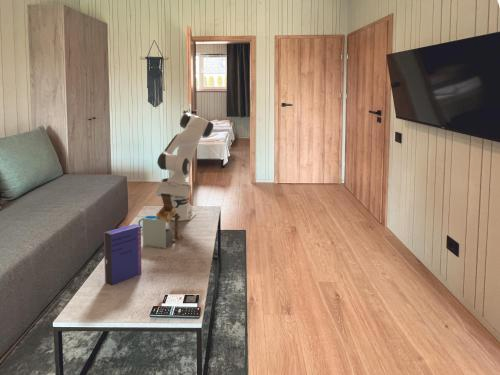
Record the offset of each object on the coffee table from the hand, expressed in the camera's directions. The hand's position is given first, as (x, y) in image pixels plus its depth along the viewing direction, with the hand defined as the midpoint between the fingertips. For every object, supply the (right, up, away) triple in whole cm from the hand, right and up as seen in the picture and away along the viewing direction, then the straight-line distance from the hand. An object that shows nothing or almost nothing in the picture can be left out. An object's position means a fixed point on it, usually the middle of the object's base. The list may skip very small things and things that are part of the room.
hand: (168, 203), depth 286 cm
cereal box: (-11, -33, -56) cm, 66 cm away
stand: (-1, -21, +3) cm, 21 cm away
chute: (-1, -9, 0) cm, 9 cm away
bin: (-4, -23, -7) cm, 25 cm away
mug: (-16, -18, +20) cm, 31 cm away
